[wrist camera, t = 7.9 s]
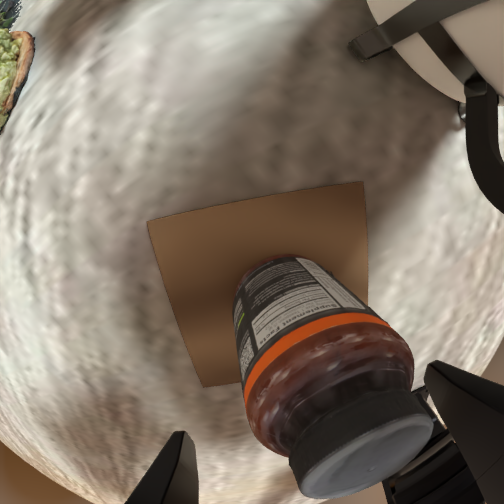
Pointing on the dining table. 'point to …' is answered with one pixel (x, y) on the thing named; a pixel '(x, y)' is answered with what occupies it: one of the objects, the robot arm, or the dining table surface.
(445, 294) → the dining table surface
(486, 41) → the coffee press
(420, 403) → the robot arm
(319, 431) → the supplement bottle
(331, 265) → the walnut trivet
